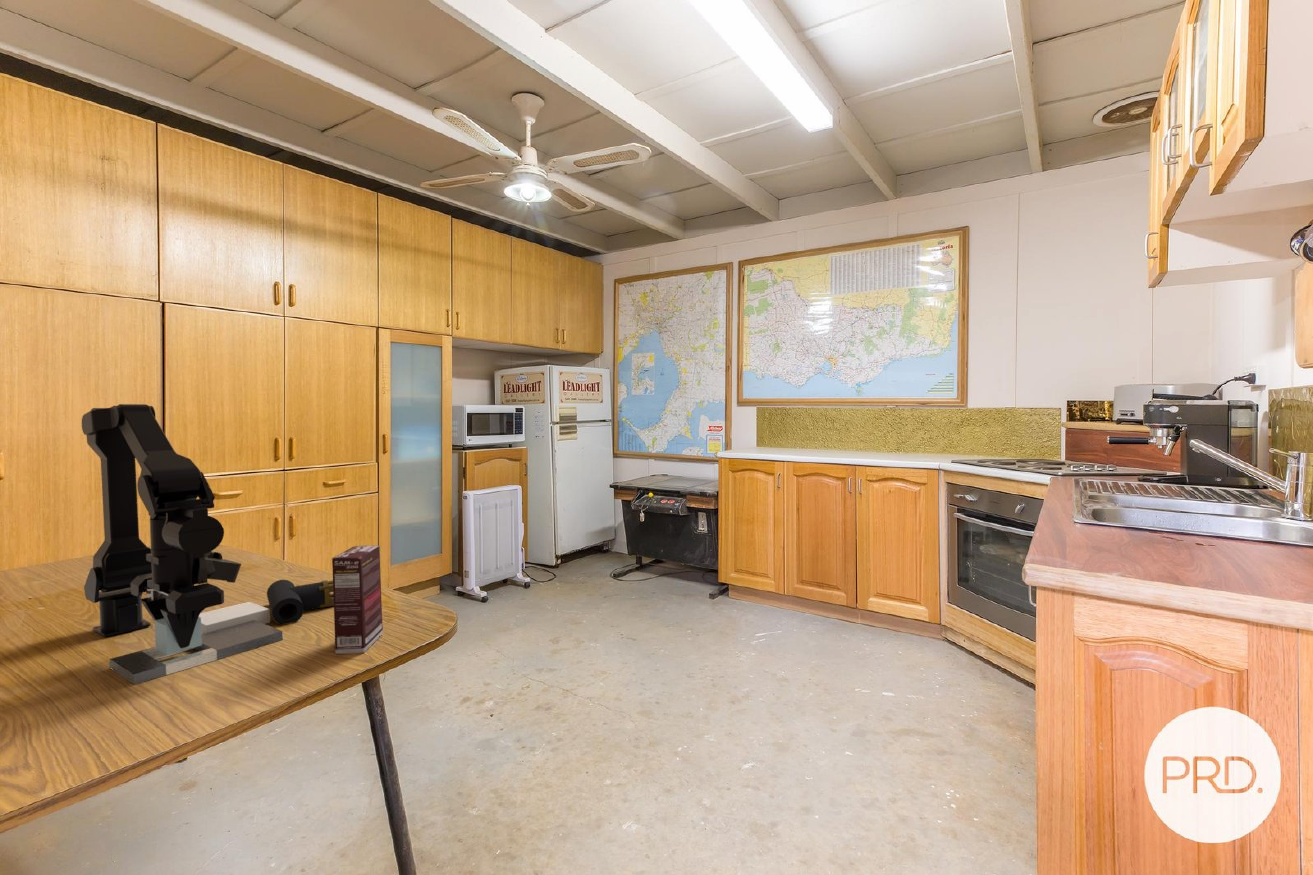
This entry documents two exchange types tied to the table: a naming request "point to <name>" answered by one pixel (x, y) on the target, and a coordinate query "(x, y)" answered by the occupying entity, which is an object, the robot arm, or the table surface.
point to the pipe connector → (297, 599)
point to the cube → (167, 641)
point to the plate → (212, 648)
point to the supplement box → (357, 599)
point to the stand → (233, 616)
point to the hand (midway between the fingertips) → (178, 644)
